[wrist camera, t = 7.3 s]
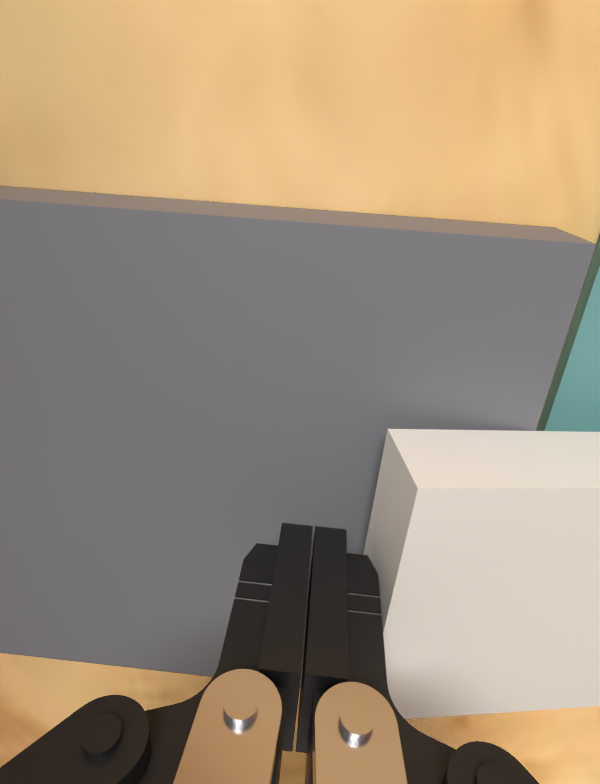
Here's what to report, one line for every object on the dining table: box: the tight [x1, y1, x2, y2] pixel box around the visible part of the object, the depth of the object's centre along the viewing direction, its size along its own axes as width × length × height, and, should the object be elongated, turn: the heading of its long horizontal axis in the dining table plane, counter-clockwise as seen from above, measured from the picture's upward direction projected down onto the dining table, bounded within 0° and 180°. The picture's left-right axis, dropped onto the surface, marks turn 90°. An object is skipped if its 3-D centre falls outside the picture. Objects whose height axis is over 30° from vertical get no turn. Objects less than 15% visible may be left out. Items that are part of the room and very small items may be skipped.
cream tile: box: [363, 429, 600, 719], centre depth 12 cm, size 7×10×2 cm
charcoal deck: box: [0, 186, 597, 687], centre depth 14 cm, size 14×20×2 cm
